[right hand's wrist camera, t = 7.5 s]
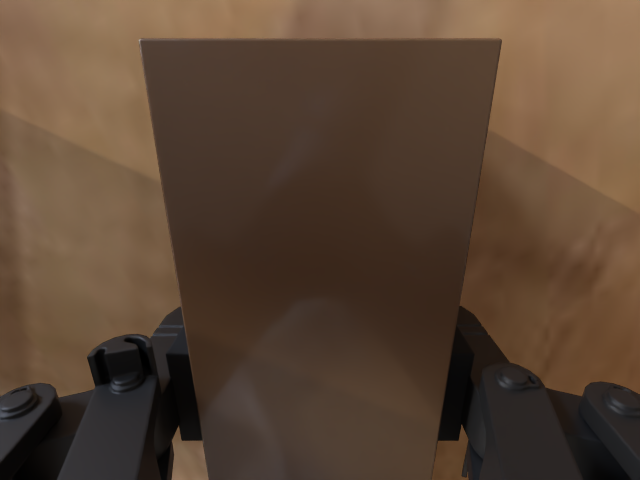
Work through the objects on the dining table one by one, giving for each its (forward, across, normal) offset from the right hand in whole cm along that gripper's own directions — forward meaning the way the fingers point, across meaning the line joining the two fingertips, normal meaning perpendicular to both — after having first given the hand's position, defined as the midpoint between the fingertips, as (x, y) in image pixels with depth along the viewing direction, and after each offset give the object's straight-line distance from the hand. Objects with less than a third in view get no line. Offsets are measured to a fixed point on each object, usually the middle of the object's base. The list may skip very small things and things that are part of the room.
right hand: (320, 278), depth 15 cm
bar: (+1, 0, -28) cm, 28 cm away
